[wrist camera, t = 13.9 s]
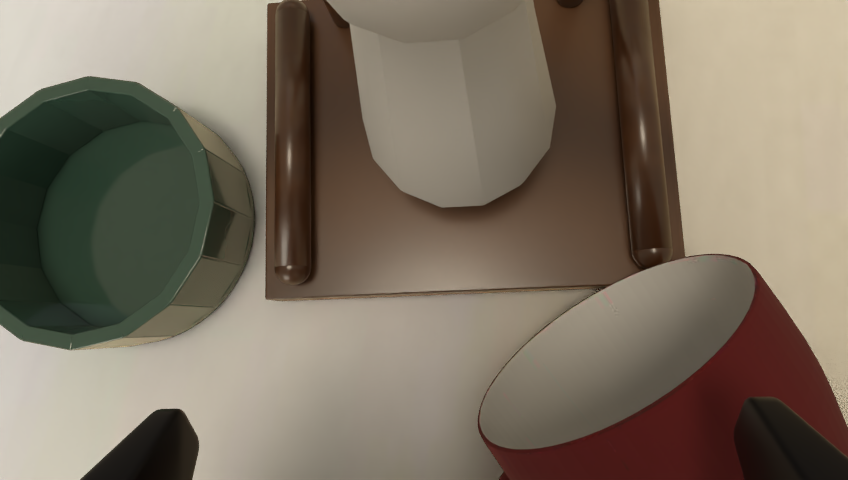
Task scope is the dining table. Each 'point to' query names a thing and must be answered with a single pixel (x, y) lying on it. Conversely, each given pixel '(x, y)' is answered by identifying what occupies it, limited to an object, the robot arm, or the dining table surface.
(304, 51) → the rack
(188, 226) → the holder
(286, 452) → the dining table surface
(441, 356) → the dining table surface
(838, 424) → the mug
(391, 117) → the salt shaker
